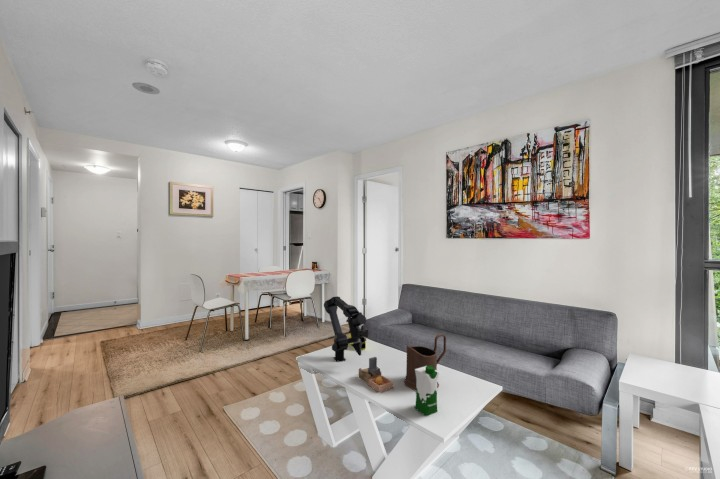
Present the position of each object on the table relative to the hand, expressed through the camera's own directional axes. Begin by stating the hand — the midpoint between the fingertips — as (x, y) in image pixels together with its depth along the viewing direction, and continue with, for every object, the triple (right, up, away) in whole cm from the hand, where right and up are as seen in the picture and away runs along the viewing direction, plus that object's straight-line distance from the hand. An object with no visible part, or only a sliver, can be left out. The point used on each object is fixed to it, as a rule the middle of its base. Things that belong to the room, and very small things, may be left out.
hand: (360, 355), depth 180 cm
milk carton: (+30, -11, -38) cm, 49 cm away
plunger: (+7, -6, -11) cm, 15 cm away
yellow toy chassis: (-2, -10, +43) cm, 44 cm away
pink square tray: (+11, -10, -16) cm, 22 cm away
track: (+5, -10, -8) cm, 14 cm away
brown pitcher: (+35, -11, -11) cm, 38 cm away
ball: (+10, -8, -15) cm, 20 cm away
